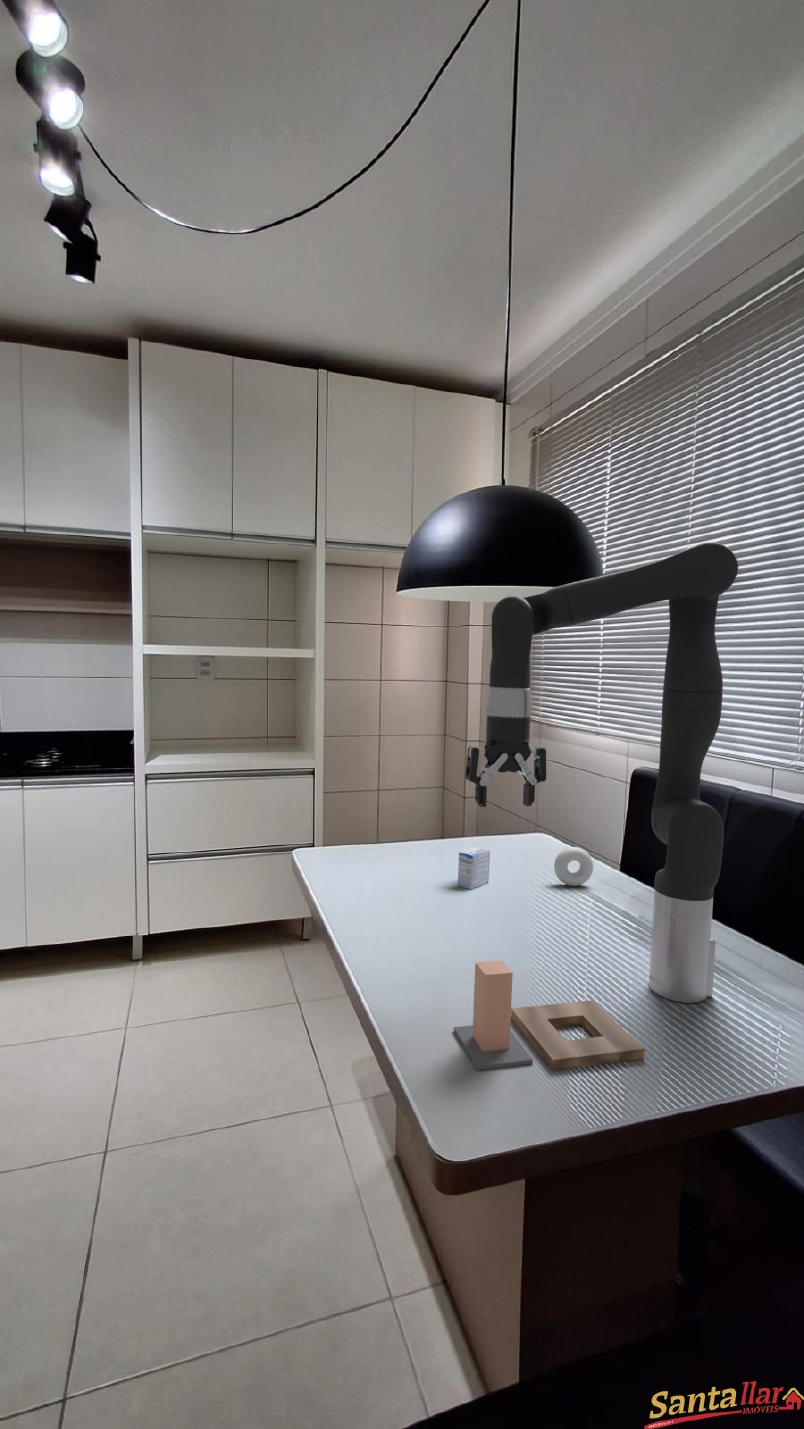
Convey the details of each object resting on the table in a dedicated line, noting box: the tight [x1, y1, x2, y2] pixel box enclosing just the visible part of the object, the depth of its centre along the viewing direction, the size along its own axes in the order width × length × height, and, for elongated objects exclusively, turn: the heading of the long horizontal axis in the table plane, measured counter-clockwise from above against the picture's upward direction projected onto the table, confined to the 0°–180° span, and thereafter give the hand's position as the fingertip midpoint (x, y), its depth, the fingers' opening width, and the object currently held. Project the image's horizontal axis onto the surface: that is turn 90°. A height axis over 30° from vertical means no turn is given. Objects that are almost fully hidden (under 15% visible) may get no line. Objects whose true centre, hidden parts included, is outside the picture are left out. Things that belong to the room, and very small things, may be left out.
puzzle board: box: [511, 999, 645, 1072], centre depth 98 cm, size 14×14×2 cm
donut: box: [553, 846, 594, 887], centre depth 170 cm, size 10×3×10 cm, turn 92°
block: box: [472, 959, 514, 1052], centre depth 95 cm, size 4×4×11 cm
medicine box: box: [457, 846, 491, 890], centre depth 168 cm, size 8×4×9 cm, turn 141°
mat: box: [453, 1024, 534, 1072], centre depth 95 cm, size 8×10×1 cm
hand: (504, 805), depth 117 cm, fingers open, 8 cm apart
